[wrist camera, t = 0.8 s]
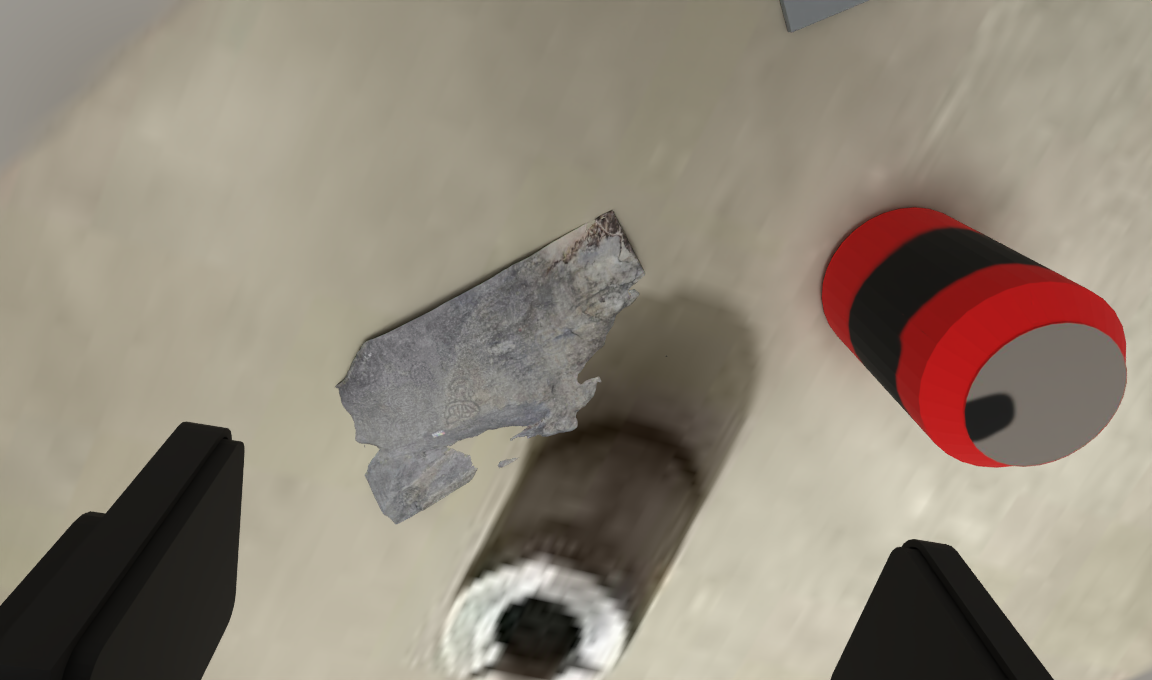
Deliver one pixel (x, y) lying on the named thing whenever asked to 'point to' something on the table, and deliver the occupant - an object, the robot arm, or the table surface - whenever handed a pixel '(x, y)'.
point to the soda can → (976, 338)
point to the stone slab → (487, 365)
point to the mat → (812, 11)
